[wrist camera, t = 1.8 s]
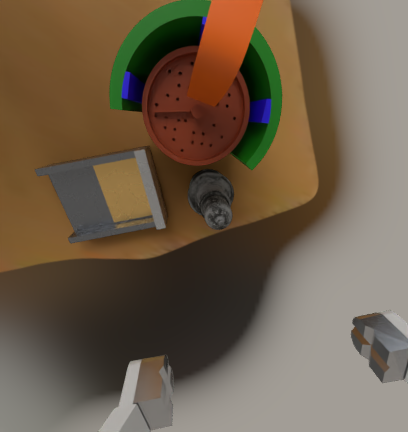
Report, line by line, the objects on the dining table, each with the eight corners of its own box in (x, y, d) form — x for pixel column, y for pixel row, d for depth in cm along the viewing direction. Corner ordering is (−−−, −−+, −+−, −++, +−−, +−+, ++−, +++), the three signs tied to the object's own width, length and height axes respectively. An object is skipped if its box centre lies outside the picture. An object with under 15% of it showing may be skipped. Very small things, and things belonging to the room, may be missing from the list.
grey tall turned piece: (228, 165, 30) (254, 191, 19) (228, 205, 33) (251, 248, 22) (185, 168, 30) (186, 196, 19) (188, 208, 32) (191, 254, 21)
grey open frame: (79, 233, 32) (66, 247, 29) (48, 164, 28) (28, 171, 25) (167, 215, 33) (165, 228, 29) (149, 145, 28) (144, 149, 25)
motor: (146, 139, 28) (80, 175, 10) (151, 56, 25) (63, -123, 7) (224, 151, 30) (292, 202, 11) (239, 74, 26) (367, -32, 8)
